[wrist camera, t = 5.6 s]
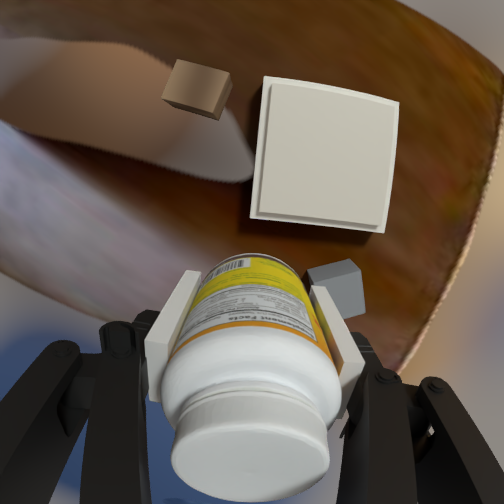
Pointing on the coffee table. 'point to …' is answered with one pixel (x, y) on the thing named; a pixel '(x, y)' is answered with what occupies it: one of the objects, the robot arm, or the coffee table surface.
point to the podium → (324, 155)
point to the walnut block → (198, 89)
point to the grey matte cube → (341, 286)
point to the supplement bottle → (251, 385)
